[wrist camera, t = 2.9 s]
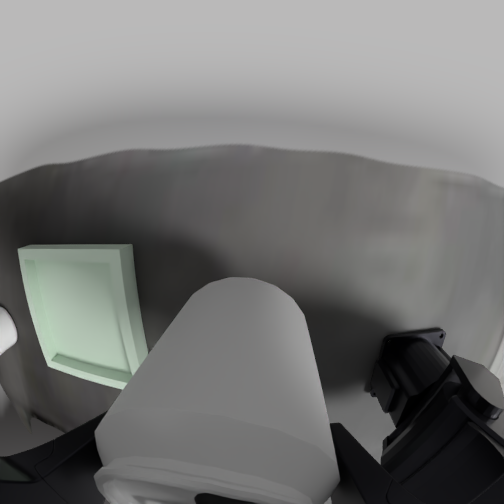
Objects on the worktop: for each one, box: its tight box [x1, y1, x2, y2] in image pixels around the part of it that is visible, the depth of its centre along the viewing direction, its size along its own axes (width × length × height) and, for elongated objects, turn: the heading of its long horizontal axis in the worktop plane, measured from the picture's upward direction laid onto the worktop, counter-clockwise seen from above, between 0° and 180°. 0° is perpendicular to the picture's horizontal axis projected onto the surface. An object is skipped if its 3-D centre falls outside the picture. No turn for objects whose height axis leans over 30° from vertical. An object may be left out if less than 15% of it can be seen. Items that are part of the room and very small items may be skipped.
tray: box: [18, 244, 148, 389], centre depth 20 cm, size 13×13×2 cm
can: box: [94, 277, 340, 504], centre depth 10 cm, size 8×8×12 cm
